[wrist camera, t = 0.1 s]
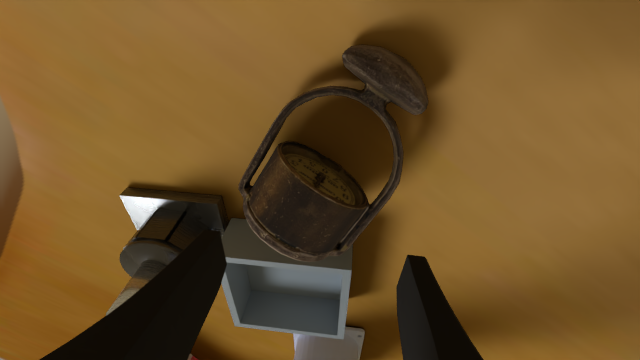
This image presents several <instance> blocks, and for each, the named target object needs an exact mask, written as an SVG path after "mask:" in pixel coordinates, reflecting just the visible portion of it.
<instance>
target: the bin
mask: <svg viewBox="0 0 640 360" xmlns="http://www.w3.org/2000/svg"><path fill="white" fill-rule="evenodd" d="M222 244H223V248H224V253H225V257H226V262H227V266H226V270H225V273H224V276H223V279H222V282H221V283H222V286H223V290H224V293H225V296H226V299H227V302H228V306H229V309H230V312H231V315H232V318H233V322H234V325H235V326H238V327H247V328H255V329H263V330H271V331H279V332H287V333H295V334H303V335H311V336H319V337H327V338H335V339H343V340H344V332H345V323H346V315H347V306H348V298H349V289H350V280H351V272H352V251H353V244H352V245H351V246H350V248H349V249H348V250H347V251H346V252H344V253H343V254H342V255H339V256H328V257H326V258H325V259H323V260H320V261H315V262H305V261H299V260H295V259H292V258H290V257H287V256H285V255H283V254H280V253H279V252H277V251H275V250H274V249H273V248H271V247H270V246H268V245H267V244H266V243H265V242H264V241H262V240H261V239H260V238H259V237H258V236H257V235H256V234H255V233H254V232H253V230H252V229H251V227H250V225H249V223H248V221H247V219H237V218H231V220H230V222H229V224H228V226H227V228H226V230H225V232H224V235H223V237H222Z"/></svg>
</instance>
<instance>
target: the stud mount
mask: <svg viewBox="0 0 640 360" xmlns="http://www.w3.org/2000/svg"><path fill="white" fill-rule="evenodd" d="M120 197H121V199H122V201H123V203H124V205H125V207H126V209H127V211H128V213H129V215H130V217H131V219H132V221H133V223H134V225H135V227H136V229H137V231H138V230H139V228H140V227H141V226H142V225H143V223H144V222H145V221H146V220H147V219H148V218H149V217H150V216H151V215H152V214H153V213H154V212H155V211H156V210H159V209H165V210H176V211H184V213H185V214H186V213H189V214H190V215H192V216H193V217H195V218H196V219H198V220H199V221H201V222H202V223H204V224H205V225H207V226H208V227H209V228H208V229H211V230H212V231H220V234H221V239H222V237H223V235H224V232H225V230H226V228H227V226H228V219H227V215H226V211H225V207H224V203H223V199H222V196H219V195H207V194H196V193H184V192H173V191H161V190H150V189H138V188H126V189H125V190H124V191H123V192H122V193H121V194H120Z"/></svg>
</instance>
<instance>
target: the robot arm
mask: <svg viewBox="0 0 640 360" xmlns="http://www.w3.org/2000/svg"><path fill="white" fill-rule="evenodd" d="M226 266H227V262H226V257H225V253H224V248H223V244H222V239H221V234H220V231H212V230H203V231H202V232H201V233H200V234H199V235H198V236H197V237H196V238H195V239H194V240H193V241H192V242H191V243H190V244H189V245H188V246H187V247H186V248H185V249H184V250H183V251H182V252H181V253H180V254H179V255H178V256H177V257H175V258H174V259H173V260H172V261H171V262H170V263H169V264H168V265H167V266H166V267H165V268H164V269H162V270H161V271H160V272H159V273H158V274H157V275H156V276H155V277H154V278H152V279H151V280H150V281H149V282H148V283H147V284H145V285H144V286H143V287H142V288H141V289H140V290H138V291H137V292H136V293H135V294H134V295H132V296H131V297H130V298H129V299H127V300H126V301H125V302H124V303H122V304H121V305H120V306H118V307H117V308H116V309H115V310H113V311H112V312H110V313H109V314H108V315H106V316H105V317H104V318H102V319H101V320H100V321H98V322H97V323H95V324H94V325H92V326H91V327H89V328H88V329H87V330H85V331H84V332H82V333H81V334H79V335H78V336H76V337H75V338H73V339H72V340H70V341H69V342H67V343H66V344H64V345H62V346H61V347H59V348H58V349H56V350H54V351H53V352H51V353H49V354H48V355H46V356H45V357H43V358H41V359H40V360H188V357H189V355H190V352H191V350H192V347H193V345H194V343H195V341H196V339H197V336H198V334H199V332H200V330H201V328H202V326H203V323H204V321H205V319H206V317H207V315H208V313H209V310H210V308H211V306H212V304H213V302H214V300H215V297H216V295H217V293H218V291H219V288H220V285H221V282H222V279H223V276H224V273H225V270H226ZM397 316H398V324H399V331H400V339H401V346H402V354H403V360H483V358H482V357H481V355H480V354H479V352H478V351H477V349H476V348H475V346H474V345H473V343H472V342H471V340H470V339H469V337H468V335H467V334H466V332H465V331H464V329H463V327H462V326H461V324H460V322H459V321H458V319H457V317H456V316H455V314H454V312H453V310H452V308H451V307H450V305H449V303H448V301H447V300H446V298H445V296H444V294H443V292H442V290H441V288H440V286H439V284H438V283H437V281H436V279H435V277H434V274H433V272H432V270H431V268H430V266H429V264H428V262H427V260H426V258H425V257H422V256H414V255H407V258H406V261H405V264H404V267H403V270H402V273H401V276H400V278H399V281H398V284H397ZM364 334H365V331H364V330H363V329H361V328H353V327H345V332H344V340H343V339H335V338H327V337H319V336H311V335H303V334H295V333H293V335H294V346H295V356H294V360H360V355H361V350H362V345H363V340H364Z"/></svg>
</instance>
